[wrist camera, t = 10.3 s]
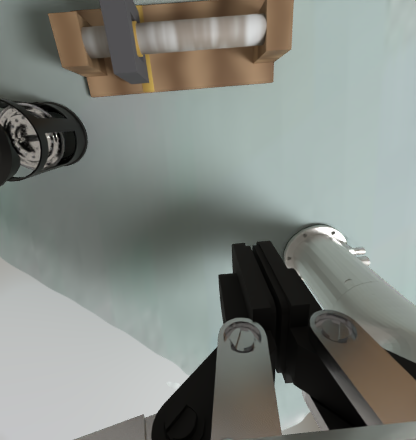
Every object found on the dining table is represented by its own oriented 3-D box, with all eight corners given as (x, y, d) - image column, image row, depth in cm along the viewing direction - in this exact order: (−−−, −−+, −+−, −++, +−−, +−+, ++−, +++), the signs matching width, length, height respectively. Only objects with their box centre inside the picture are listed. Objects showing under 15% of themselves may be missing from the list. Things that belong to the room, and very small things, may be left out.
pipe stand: (273, -2, 32) (296, -37, 25) (271, 82, 36) (290, 73, 29) (73, 13, 32) (38, -18, 25) (93, 97, 36) (68, 91, 28)
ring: (138, 11, 30) (120, -24, 23) (149, 82, 33) (136, 72, 26) (118, 13, 30) (94, -22, 23) (131, 84, 33) (114, 73, 26)
